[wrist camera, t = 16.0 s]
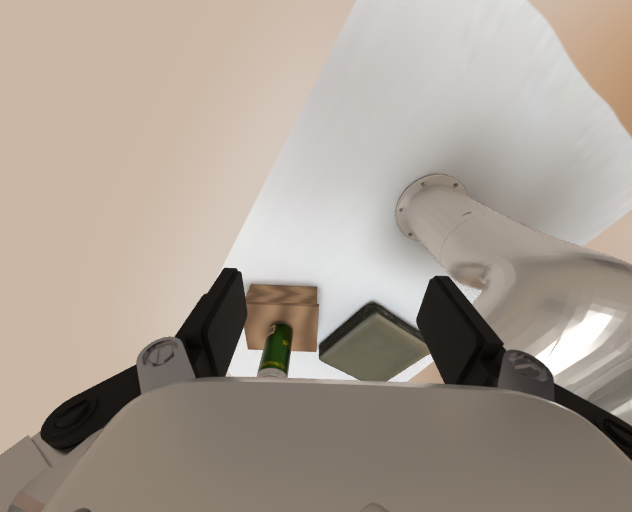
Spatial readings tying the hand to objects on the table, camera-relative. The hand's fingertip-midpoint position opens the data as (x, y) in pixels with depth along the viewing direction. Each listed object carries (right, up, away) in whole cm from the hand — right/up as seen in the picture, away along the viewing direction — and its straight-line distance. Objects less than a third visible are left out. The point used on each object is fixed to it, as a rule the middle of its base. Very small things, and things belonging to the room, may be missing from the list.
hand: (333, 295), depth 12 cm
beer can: (-8, -14, +39) cm, 42 cm away
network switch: (+14, -21, +51) cm, 57 cm away
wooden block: (-8, -11, +45) cm, 47 cm away
